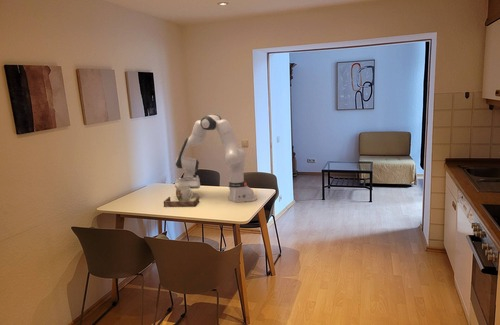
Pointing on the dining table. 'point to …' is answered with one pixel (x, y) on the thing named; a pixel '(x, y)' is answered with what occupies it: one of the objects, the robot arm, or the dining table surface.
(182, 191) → the pitcher
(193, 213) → the dining table surface
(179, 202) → the tray
